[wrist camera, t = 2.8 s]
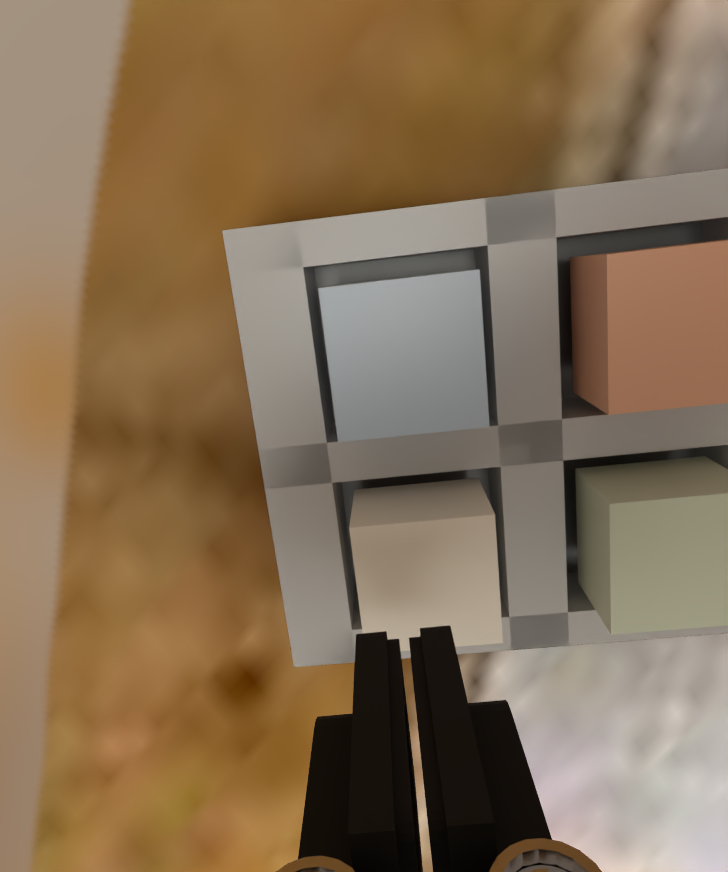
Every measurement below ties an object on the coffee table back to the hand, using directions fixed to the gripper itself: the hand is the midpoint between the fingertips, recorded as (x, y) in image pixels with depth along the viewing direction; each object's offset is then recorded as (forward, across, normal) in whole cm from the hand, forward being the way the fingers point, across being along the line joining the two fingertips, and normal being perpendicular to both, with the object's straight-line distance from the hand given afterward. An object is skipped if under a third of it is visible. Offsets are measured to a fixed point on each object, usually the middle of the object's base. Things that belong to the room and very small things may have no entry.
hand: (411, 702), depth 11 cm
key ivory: (+7, -1, 0) cm, 7 cm away
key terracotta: (+7, -7, -5) cm, 11 cm away
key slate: (+7, -1, -5) cm, 9 cm away
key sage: (+6, -7, 0) cm, 9 cm away
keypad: (+9, -4, -3) cm, 10 cm away
